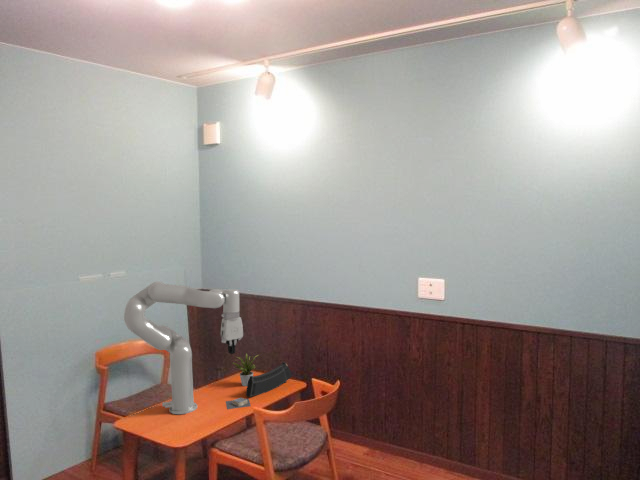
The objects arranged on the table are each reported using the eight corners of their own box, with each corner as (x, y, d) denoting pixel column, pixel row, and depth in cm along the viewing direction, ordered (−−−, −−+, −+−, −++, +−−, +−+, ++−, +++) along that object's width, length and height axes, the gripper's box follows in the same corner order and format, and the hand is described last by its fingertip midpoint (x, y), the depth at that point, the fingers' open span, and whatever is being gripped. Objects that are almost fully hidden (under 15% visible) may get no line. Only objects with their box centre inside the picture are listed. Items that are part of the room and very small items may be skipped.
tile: (238, 402, 229) (247, 399, 233) (232, 400, 233) (241, 397, 236) (238, 406, 229) (247, 403, 233) (232, 403, 233) (241, 400, 236)
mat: (227, 409, 226) (227, 409, 226) (225, 401, 236) (225, 401, 236) (251, 406, 229) (250, 406, 229) (248, 398, 239) (248, 398, 239)
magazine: (245, 382, 236) (285, 350, 258) (241, 381, 238) (281, 349, 260) (254, 412, 241) (292, 378, 263) (250, 411, 243) (288, 377, 265)
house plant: (253, 377, 269) (251, 348, 268) (267, 384, 259) (265, 353, 258) (230, 384, 260) (228, 353, 259) (243, 391, 250) (242, 359, 249)
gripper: (221, 318, 226) (222, 358, 227) (249, 314, 236) (249, 352, 237) (213, 316, 232) (213, 354, 232) (240, 312, 242) (240, 348, 243)
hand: (231, 353), depth 235 cm, fingers closed
